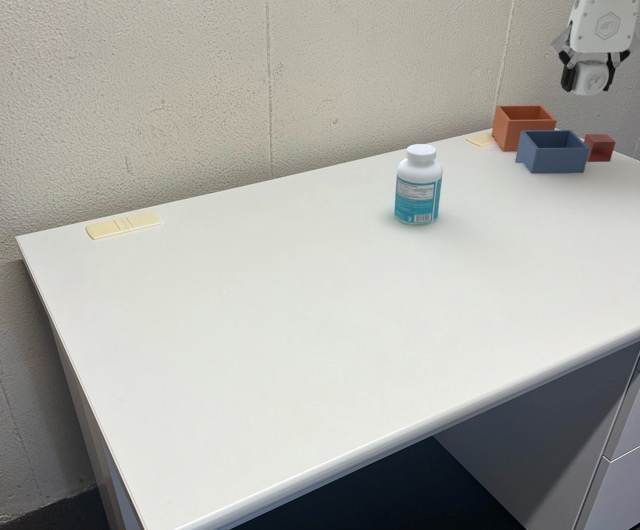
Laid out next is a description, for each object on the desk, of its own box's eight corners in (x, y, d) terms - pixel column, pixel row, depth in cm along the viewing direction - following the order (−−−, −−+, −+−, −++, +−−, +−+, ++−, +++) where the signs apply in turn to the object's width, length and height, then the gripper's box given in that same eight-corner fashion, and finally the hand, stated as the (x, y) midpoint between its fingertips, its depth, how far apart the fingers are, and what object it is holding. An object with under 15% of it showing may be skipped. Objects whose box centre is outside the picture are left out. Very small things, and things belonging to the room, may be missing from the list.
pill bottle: (412, 210, 109) (419, 136, 101) (445, 224, 105) (455, 149, 97) (384, 224, 105) (388, 148, 97) (417, 239, 101) (425, 161, 93)
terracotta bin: (535, 134, 140) (541, 105, 136) (549, 150, 132) (556, 120, 128) (491, 134, 140) (496, 105, 136) (503, 151, 132) (508, 120, 128)
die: (563, 89, 111) (570, 60, 108) (587, 86, 112) (594, 57, 109) (579, 97, 107) (587, 67, 104) (604, 94, 108) (612, 64, 105)
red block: (601, 154, 130) (607, 133, 127) (609, 162, 126) (615, 141, 123) (580, 154, 130) (585, 134, 127) (588, 163, 126) (593, 142, 123)
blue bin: (563, 160, 127) (571, 129, 123) (581, 181, 119) (590, 148, 115) (515, 161, 127) (521, 130, 123) (529, 181, 119) (536, 149, 115)
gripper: (567, -21, 95) (543, 96, 106) (676, -23, 96) (641, 94, 106) (551, -28, 101) (530, 84, 112) (654, -29, 102) (622, 82, 112)
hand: (584, 88), depth 109 cm, fingers closed on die, 5 cm apart
